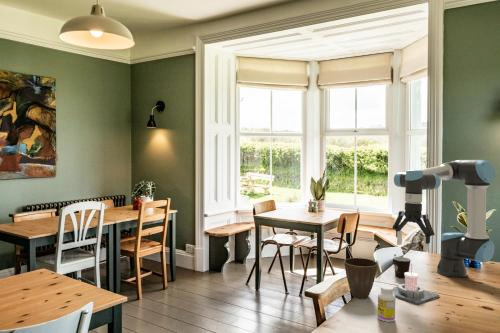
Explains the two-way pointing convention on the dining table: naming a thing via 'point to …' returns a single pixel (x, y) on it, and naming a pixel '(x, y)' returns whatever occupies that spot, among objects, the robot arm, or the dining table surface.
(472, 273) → the dining table surface
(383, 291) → the supplement bottle
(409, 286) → the beverage cup
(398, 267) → the coffee mug
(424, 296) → the sleeve block
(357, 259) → the plant pot
